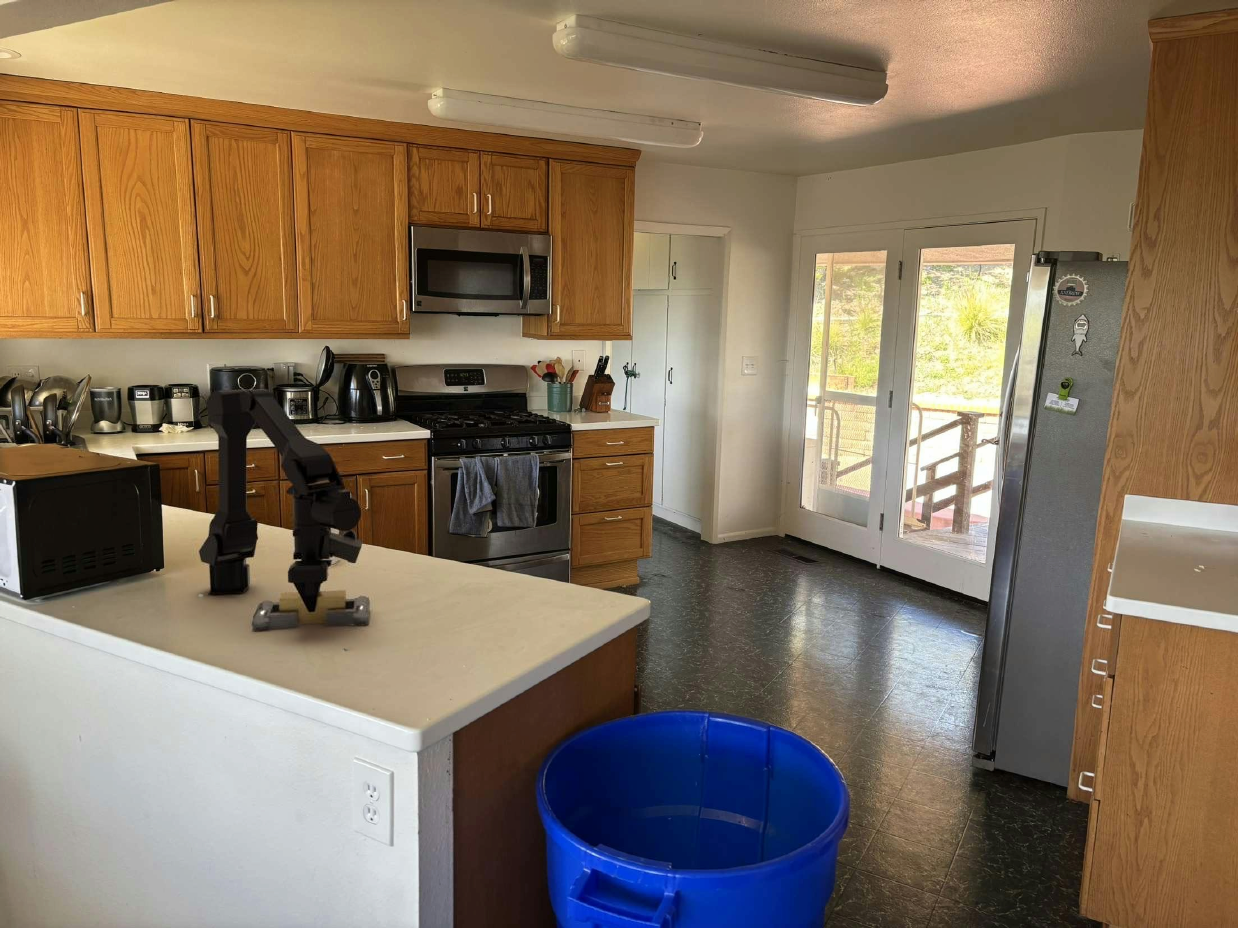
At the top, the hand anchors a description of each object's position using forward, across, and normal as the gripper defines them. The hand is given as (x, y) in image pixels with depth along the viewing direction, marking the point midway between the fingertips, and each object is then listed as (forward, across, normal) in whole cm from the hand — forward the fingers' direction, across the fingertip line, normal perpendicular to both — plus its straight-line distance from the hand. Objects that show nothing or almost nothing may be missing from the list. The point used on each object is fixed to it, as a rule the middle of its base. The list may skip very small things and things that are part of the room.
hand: (313, 606), depth 155 cm
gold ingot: (+3, 0, 0) cm, 3 cm away
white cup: (+3, +39, +2) cm, 39 cm away
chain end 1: (+2, 0, +6) cm, 6 cm away
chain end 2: (+2, 0, -6) cm, 6 cm away
